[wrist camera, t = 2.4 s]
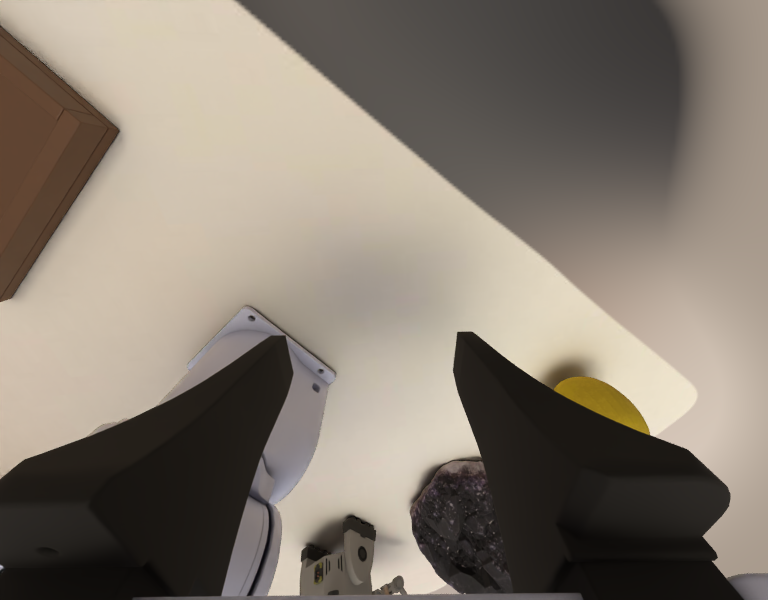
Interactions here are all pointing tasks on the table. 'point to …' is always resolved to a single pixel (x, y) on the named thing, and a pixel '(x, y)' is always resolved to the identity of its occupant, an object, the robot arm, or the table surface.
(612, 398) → the lemon
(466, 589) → the crystal cluster
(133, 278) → the table surface
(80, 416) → the table surface
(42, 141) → the tray
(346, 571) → the figurine
